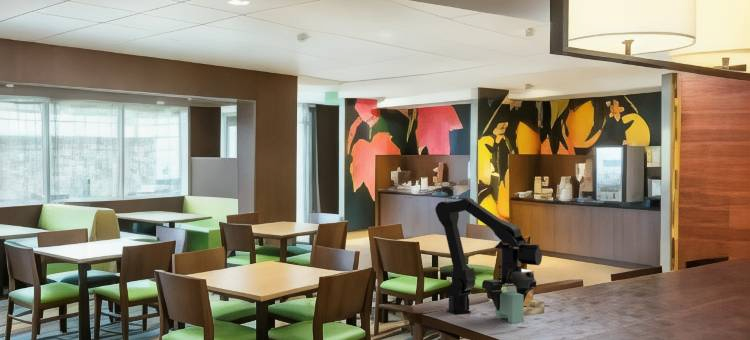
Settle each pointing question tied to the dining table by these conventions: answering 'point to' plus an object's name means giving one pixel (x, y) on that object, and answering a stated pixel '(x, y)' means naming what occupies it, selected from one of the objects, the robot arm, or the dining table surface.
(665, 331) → the dining table surface
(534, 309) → the maple rail
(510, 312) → the teal block
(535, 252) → the robot arm
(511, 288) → the small box
